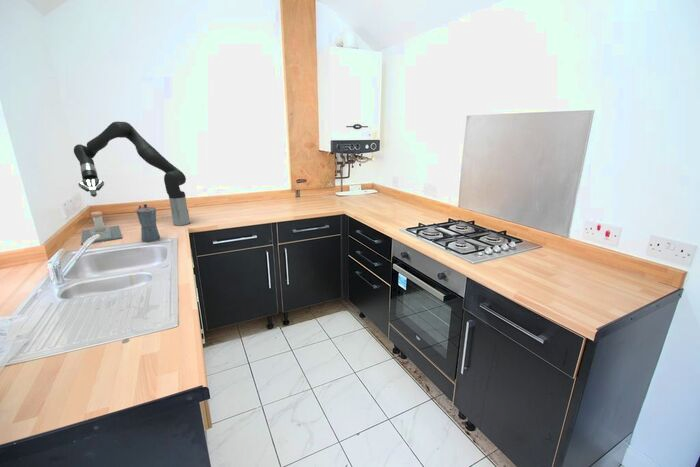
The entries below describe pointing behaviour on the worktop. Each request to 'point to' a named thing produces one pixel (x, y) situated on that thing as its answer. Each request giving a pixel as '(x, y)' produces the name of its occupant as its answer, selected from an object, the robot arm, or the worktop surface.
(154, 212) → the moka pot
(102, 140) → the robot arm
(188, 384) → the worktop surface
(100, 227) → the grey upright post
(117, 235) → the board
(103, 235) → the mount
